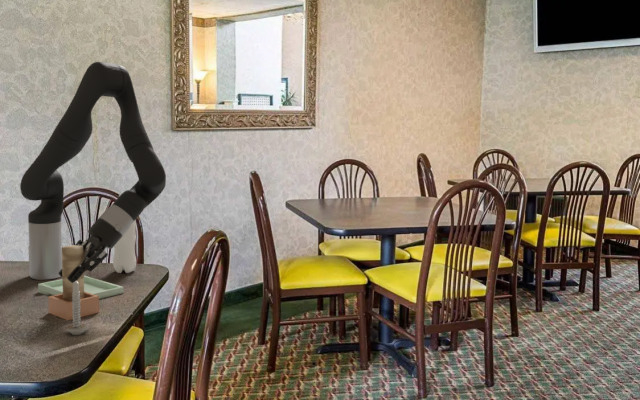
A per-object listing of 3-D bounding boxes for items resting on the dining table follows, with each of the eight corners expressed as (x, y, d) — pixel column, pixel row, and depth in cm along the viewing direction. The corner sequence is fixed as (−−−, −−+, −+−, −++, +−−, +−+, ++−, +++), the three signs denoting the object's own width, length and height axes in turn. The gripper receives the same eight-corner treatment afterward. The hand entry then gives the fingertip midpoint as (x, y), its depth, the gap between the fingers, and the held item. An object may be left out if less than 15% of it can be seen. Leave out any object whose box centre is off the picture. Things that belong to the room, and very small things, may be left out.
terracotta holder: (48, 316, 159) (48, 296, 158) (79, 308, 166) (79, 289, 165) (68, 323, 154) (67, 303, 153) (99, 315, 160) (99, 296, 160)
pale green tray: (38, 292, 179) (38, 283, 179) (82, 283, 190) (82, 274, 190) (78, 306, 167) (78, 297, 167) (123, 295, 178) (123, 286, 178)
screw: (86, 339, 143) (63, 340, 142) (89, 332, 148) (67, 333, 147) (85, 283, 141) (62, 283, 140) (88, 277, 146) (66, 278, 145)
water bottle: (129, 275, 201) (128, 196, 198) (108, 273, 203) (107, 195, 199) (140, 269, 208) (139, 194, 205) (120, 268, 210) (119, 193, 206)
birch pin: (59, 306, 159) (57, 247, 157) (77, 301, 163) (76, 244, 161) (70, 310, 156) (69, 250, 154) (88, 305, 160) (87, 247, 158)
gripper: (89, 213, 167) (43, 264, 160) (113, 221, 156) (66, 275, 150) (109, 231, 171) (65, 281, 164) (134, 239, 161) (88, 294, 154)
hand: (65, 278), depth 157 cm, fingers closed on birch pin, 5 cm apart
